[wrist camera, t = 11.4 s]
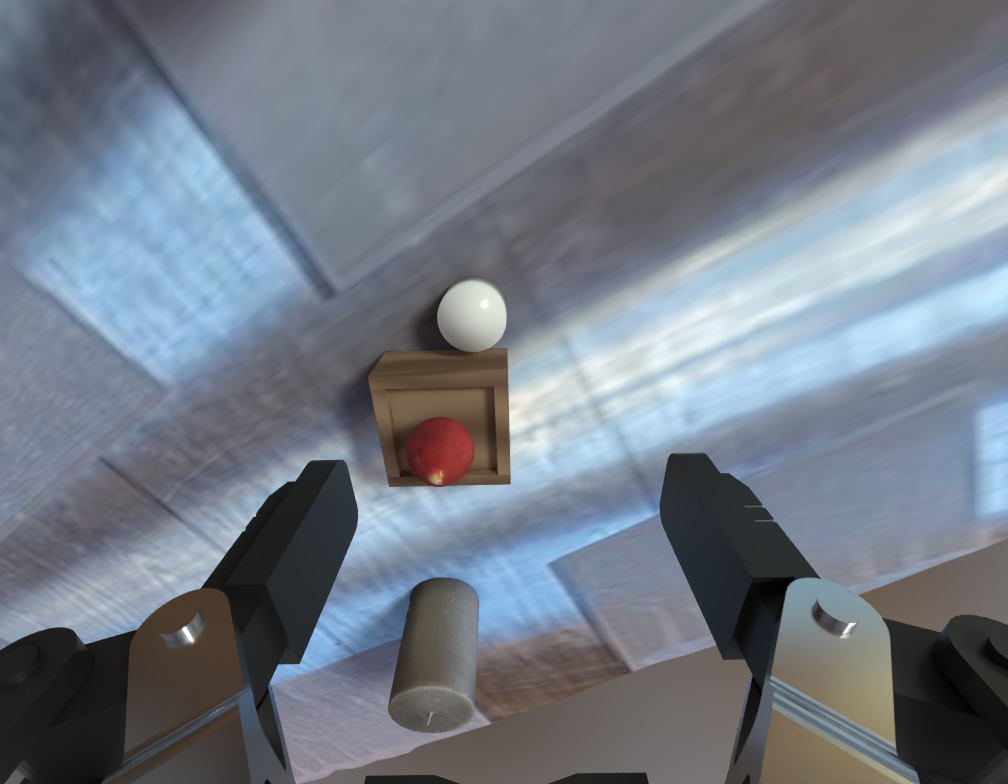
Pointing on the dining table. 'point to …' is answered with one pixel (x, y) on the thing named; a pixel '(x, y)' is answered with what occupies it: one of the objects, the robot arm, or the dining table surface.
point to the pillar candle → (437, 658)
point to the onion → (440, 451)
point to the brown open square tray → (444, 407)
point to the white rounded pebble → (472, 314)
